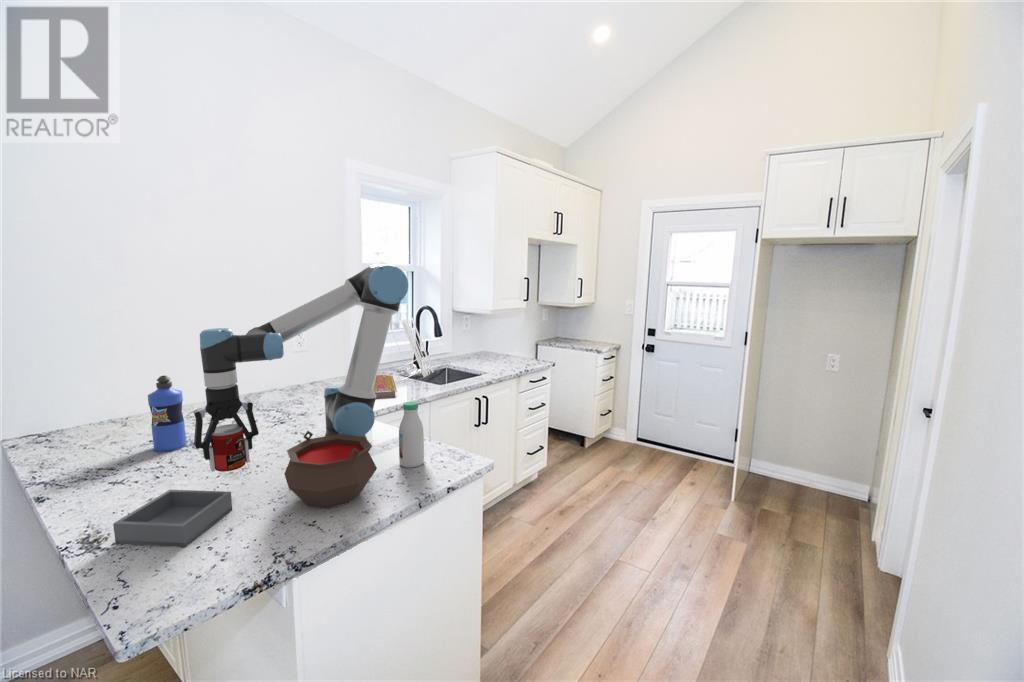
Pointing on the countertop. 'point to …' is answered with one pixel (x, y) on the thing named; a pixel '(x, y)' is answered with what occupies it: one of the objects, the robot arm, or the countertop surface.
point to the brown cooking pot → (329, 469)
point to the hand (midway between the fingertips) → (230, 465)
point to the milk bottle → (411, 437)
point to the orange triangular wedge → (382, 383)
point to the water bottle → (167, 416)
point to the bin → (173, 518)
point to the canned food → (228, 447)
